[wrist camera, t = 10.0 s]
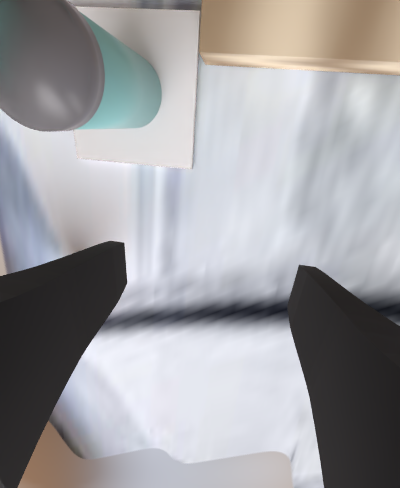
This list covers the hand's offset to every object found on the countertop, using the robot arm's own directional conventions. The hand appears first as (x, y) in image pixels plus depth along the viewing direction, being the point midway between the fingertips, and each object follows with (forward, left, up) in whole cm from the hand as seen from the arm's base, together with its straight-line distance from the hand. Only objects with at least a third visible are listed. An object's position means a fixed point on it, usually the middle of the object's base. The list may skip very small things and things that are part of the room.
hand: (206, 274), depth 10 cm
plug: (+7, -7, -10) cm, 14 cm away
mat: (+7, -7, -10) cm, 14 cm away
